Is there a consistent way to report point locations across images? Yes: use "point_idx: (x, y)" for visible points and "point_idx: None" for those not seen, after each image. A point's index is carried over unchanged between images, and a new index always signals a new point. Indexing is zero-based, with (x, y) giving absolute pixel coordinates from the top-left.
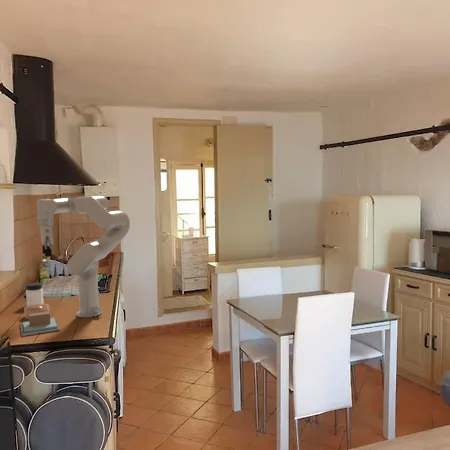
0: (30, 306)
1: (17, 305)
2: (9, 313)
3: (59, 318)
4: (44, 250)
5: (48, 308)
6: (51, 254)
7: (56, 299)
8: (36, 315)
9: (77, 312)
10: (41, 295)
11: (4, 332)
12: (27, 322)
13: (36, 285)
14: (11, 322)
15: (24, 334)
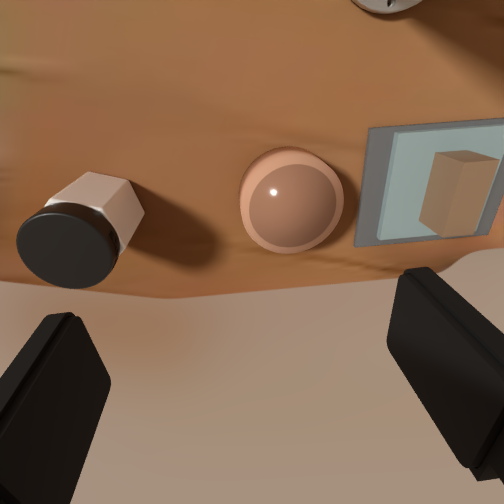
0: (274, 232)
1: None
2: (203, 283)
3: (371, 106)
4: (82, 421)
5: (316, 158)
6: (441, 282)
7: (9, 104)
8: (481, 210)
9: (373, 5)
10: (108, 194)
11: None
12: (392, 227)
13: (105, 240)
14: (317, 269)
15: (484, 227)
